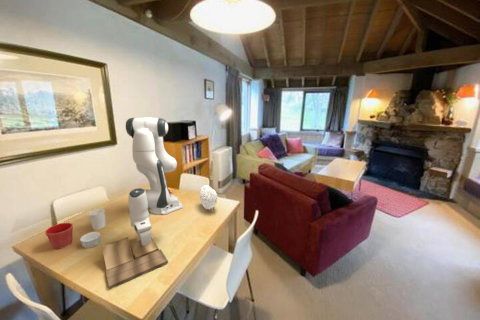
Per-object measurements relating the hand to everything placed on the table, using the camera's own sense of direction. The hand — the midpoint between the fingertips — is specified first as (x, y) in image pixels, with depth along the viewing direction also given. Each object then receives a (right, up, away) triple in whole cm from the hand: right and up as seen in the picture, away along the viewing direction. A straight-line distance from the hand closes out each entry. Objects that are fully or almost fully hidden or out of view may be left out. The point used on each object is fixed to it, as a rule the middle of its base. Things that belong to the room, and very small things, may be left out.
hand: (142, 243), depth 110 cm
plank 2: (+2, -2, -2) cm, 3 cm away
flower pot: (-42, -1, 0) cm, 43 cm away
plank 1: (-7, -1, -11) cm, 13 cm away
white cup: (-34, +3, +17) cm, 38 cm away
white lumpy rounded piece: (+29, +8, +42) cm, 51 cm away
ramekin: (-28, -1, +2) cm, 28 cm away
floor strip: (+5, -6, -15) cm, 16 cm away
